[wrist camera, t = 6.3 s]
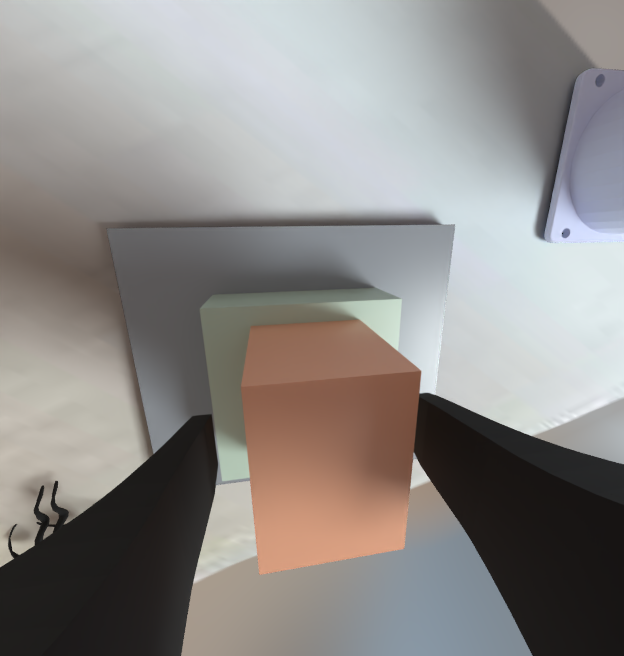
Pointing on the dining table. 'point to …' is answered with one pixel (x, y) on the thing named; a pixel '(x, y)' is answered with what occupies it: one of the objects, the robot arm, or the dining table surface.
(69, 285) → the dining table surface
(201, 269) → the tower base
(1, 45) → the dining table surface
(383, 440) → the top brick
